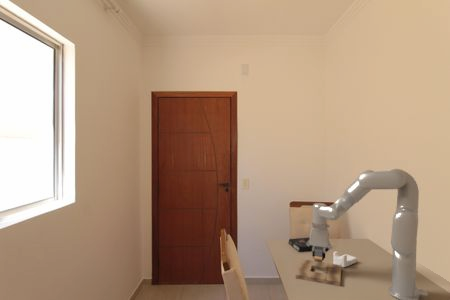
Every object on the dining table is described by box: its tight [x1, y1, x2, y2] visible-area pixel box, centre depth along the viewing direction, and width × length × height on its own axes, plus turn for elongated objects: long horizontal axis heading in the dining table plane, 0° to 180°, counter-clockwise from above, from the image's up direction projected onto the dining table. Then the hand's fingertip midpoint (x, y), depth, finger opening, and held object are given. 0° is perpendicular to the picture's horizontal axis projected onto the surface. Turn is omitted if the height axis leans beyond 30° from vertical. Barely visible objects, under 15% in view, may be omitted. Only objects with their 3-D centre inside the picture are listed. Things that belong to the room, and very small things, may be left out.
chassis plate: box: [295, 258, 342, 287], centre depth 159 cm, size 22×22×2 cm
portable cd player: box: [288, 237, 323, 253], centre depth 199 cm, size 16×17×4 cm
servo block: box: [313, 247, 323, 262], centre depth 159 cm, size 4×10×6 cm, turn 157°
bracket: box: [332, 251, 358, 268], centre depth 172 cm, size 13×7×8 cm, turn 125°
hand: (318, 258), depth 159 cm, fingers closed on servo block, 4 cm apart
